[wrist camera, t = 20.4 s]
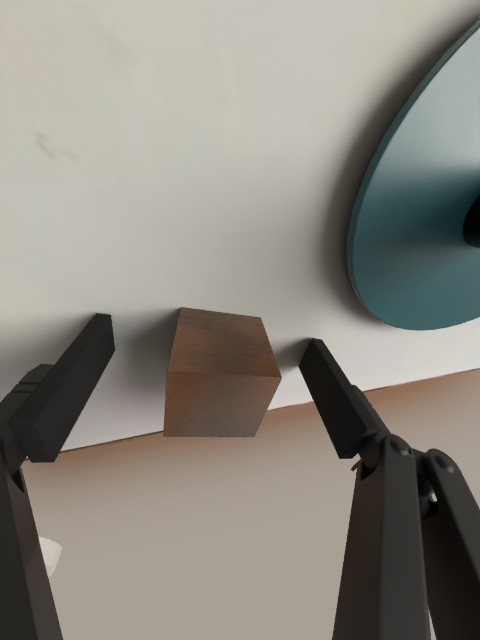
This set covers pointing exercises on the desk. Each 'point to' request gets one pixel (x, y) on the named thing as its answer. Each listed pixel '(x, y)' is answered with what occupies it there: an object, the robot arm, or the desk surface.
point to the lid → (424, 203)
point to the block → (218, 376)
